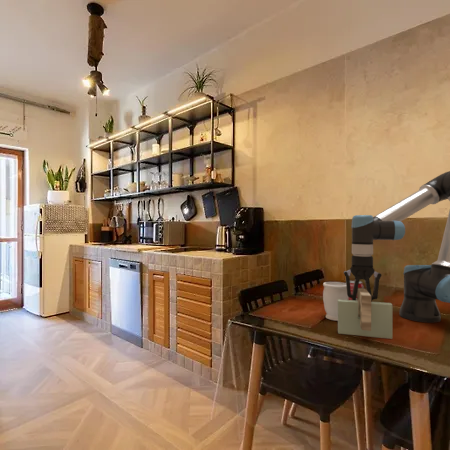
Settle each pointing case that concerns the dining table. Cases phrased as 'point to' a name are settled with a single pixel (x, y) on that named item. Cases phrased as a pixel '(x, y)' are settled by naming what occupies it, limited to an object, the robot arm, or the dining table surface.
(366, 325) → the wooden arch block
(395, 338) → the dining table surface
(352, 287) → the soda can
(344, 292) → the jar
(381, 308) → the notched green slab
